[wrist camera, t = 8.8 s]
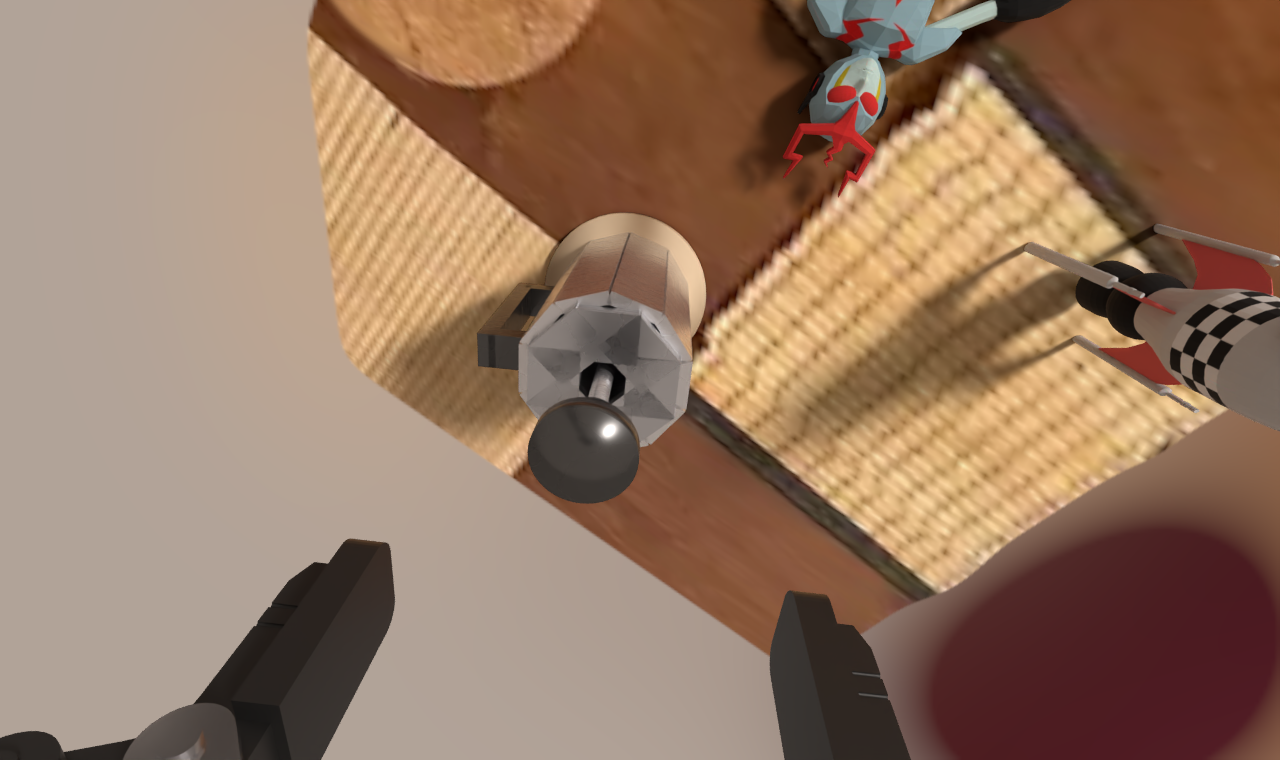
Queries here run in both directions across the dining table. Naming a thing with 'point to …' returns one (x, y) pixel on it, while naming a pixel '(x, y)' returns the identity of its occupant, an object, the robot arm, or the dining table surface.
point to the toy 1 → (855, 86)
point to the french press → (601, 333)
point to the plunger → (586, 445)
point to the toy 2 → (1191, 323)
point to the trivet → (645, 229)
